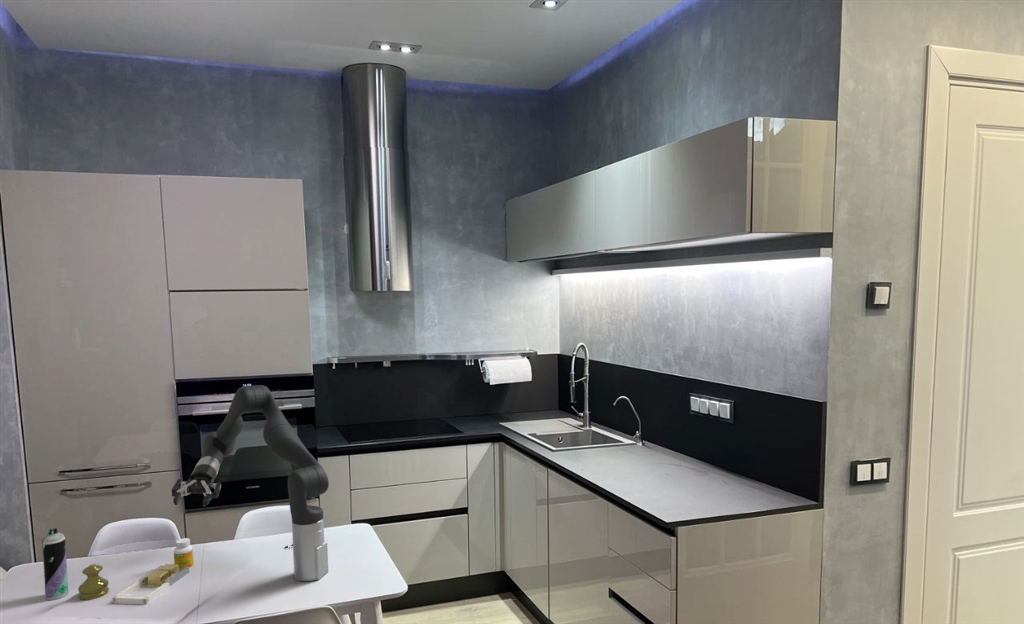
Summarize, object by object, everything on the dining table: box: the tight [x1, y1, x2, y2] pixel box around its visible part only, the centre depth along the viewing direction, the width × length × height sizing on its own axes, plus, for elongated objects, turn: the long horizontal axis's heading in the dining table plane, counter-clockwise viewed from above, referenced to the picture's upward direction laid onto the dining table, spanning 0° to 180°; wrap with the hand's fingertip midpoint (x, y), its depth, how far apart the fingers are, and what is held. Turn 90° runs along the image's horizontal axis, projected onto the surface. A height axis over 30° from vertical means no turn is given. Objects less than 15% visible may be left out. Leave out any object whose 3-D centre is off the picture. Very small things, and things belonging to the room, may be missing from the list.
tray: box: [111, 581, 170, 605], centre depth 186 cm, size 10×10×3 cm
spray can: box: [41, 527, 69, 601], centre depth 190 cm, size 6×6×20 cm
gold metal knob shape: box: [77, 563, 110, 601], centre depth 188 cm, size 7×8×10 cm
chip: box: [158, 563, 179, 577], centre depth 198 cm, size 4×4×3 cm
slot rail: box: [137, 564, 190, 588], centre depth 196 cm, size 10×9×4 cm
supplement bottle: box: [173, 537, 194, 570], centre depth 206 cm, size 5×5×10 cm
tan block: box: [148, 570, 169, 586], centre depth 194 cm, size 4×4×3 cm
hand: (189, 503), depth 210 cm, fingers open, 8 cm apart
